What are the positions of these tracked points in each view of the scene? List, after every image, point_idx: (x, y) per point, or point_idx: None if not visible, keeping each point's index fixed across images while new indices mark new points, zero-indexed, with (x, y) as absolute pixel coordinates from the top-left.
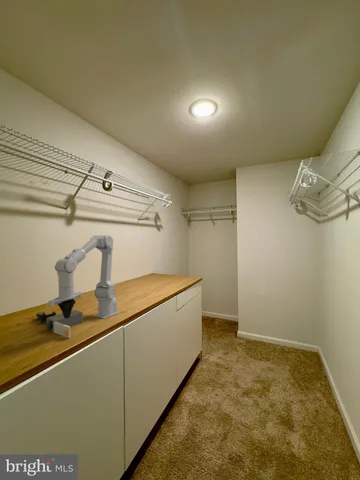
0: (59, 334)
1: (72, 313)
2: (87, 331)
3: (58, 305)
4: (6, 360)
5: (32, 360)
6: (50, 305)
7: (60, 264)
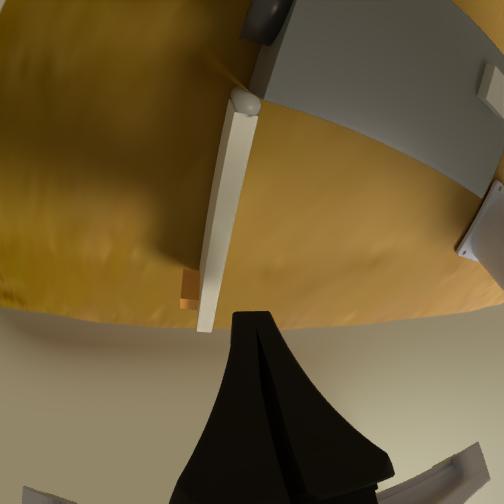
0: (213, 179)
1: (473, 128)
2: (309, 287)
3: (185, 468)
4: None
5: (24, 283)
6: (42, 497)
7: None
